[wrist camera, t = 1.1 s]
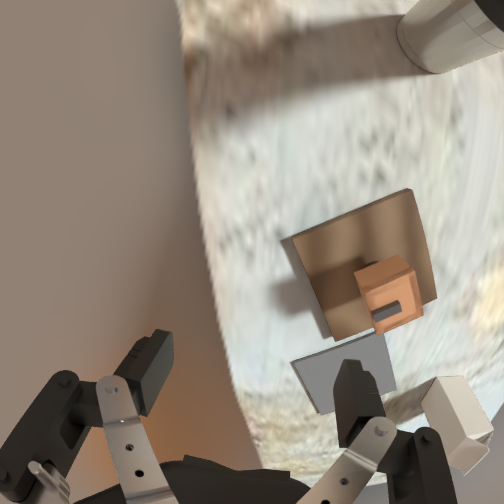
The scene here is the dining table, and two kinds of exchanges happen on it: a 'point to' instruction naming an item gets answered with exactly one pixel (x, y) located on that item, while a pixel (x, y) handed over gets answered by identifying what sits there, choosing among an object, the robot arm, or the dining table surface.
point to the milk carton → (458, 421)
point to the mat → (329, 362)
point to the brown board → (363, 257)
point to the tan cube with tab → (390, 293)
